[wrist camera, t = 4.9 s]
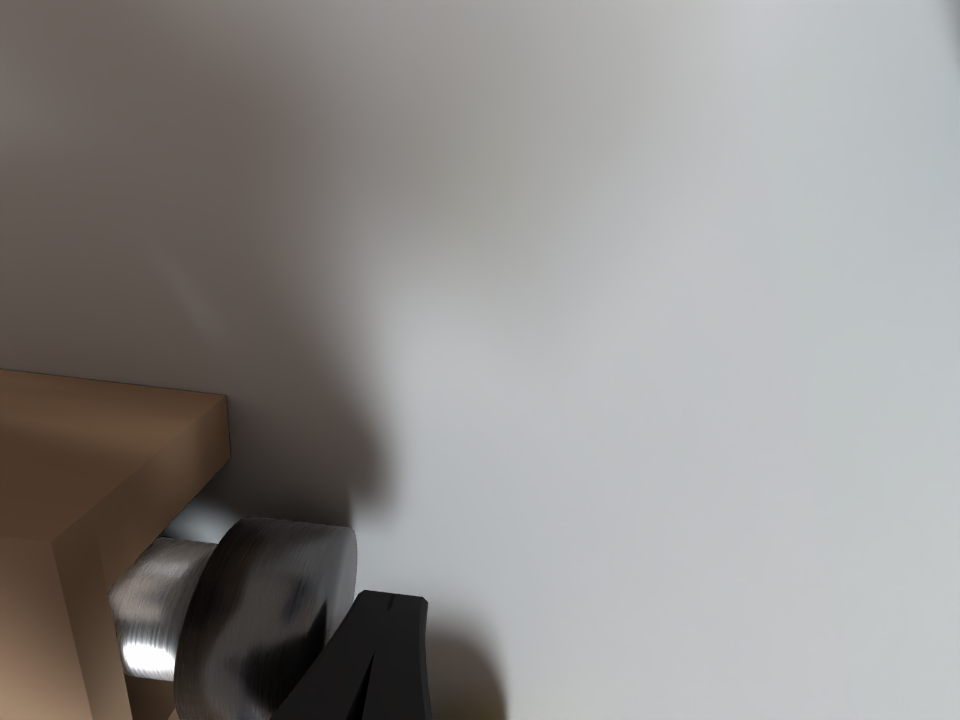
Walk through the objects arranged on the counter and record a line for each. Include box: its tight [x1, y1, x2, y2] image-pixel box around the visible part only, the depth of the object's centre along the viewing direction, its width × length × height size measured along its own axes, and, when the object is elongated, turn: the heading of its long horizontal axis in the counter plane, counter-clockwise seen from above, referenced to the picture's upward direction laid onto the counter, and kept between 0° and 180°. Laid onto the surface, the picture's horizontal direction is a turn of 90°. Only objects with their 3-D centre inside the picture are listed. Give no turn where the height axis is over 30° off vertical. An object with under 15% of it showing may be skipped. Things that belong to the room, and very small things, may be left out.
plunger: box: [107, 516, 357, 720], centre depth 10 cm, size 4×10×4 cm, turn 84°
